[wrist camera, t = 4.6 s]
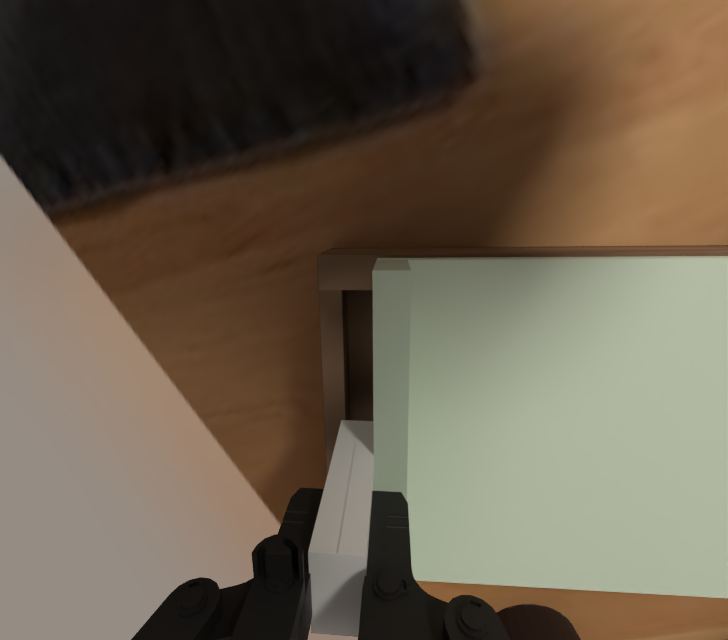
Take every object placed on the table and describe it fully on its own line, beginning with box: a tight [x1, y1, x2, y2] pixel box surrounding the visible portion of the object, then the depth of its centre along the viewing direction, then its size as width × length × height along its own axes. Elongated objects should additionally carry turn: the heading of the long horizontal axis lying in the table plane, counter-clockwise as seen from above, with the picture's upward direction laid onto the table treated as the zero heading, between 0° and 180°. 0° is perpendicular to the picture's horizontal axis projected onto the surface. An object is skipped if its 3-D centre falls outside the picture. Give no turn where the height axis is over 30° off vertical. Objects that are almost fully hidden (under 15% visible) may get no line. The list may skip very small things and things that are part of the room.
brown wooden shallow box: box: [317, 245, 728, 475], centre depth 19 cm, size 16×30×4 cm, turn 91°
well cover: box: [372, 256, 728, 598], centre depth 15 cm, size 16×19×4 cm
